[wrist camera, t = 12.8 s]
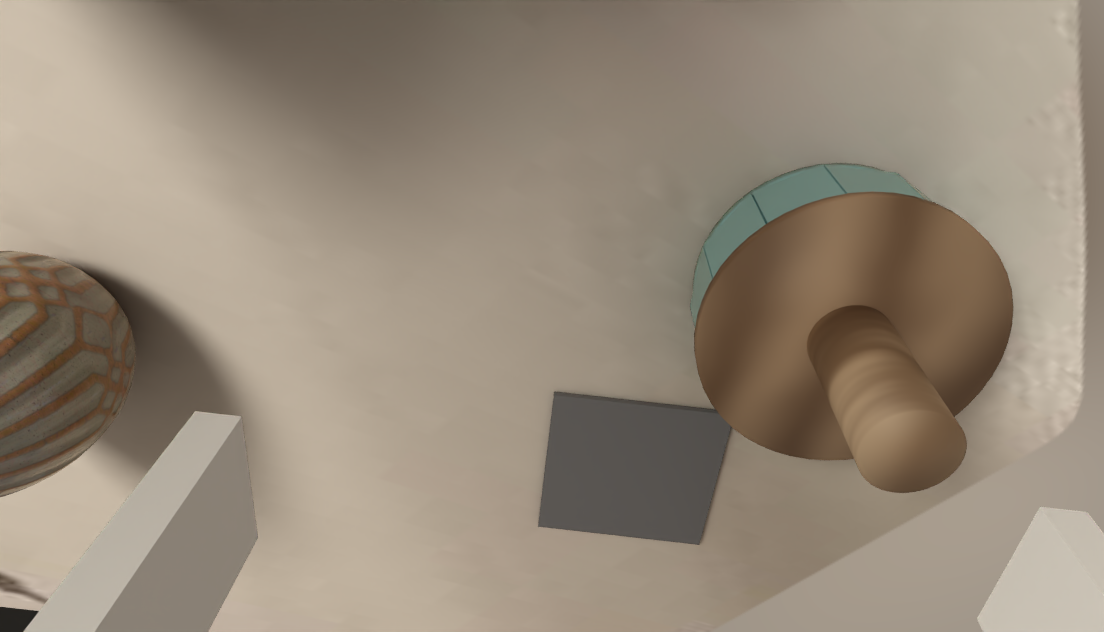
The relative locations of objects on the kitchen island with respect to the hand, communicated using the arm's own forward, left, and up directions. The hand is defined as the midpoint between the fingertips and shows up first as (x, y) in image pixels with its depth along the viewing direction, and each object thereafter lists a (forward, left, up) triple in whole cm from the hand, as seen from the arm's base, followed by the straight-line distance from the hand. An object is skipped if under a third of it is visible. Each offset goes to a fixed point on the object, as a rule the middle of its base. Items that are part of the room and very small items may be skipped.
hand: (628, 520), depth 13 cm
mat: (+5, -26, -32) cm, 41 cm away
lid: (+14, -10, -26) cm, 31 cm away
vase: (-33, -18, -32) cm, 49 cm away
